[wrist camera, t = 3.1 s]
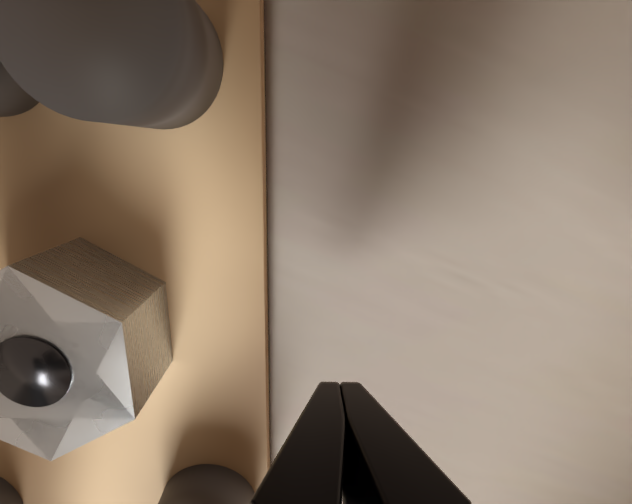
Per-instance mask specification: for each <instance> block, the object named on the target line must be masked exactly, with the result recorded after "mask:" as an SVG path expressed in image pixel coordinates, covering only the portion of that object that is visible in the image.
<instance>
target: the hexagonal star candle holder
mask: <svg viewBox="0 0 632 504" xmlns="http://www.w3.org/2000/svg"><path fill="white" fill-rule="evenodd" d="M172 361H173V354H172V344H171V333H170V323H169V312H168V302H167V291H166V282H165V281H163V280H161V279H159V278H157V277H155V276H153V275H151V274H149V273H148V272H146V271H144V270H142V269H140V268H138V267H136V266H134V265H132V264H131V263H129V262H127V261H125V260H123V259H121V258H119V257H117V256H115V255H114V254H112V253H110V252H108V251H106V250H104V249H102V248H100V247H98V246H97V245H95V244H93V243H91V242H89V241H87V240H85V239H83V238H81V237H79V238H77V239H74V240H72V241H69V242H67V243H64V244H62V245H59V246H57V247H54V248H51V249H49V250H46V251H44V252H41V253H39V254H36V255H34V256H31V257H29V258H26V259H23V260H21V261H18V262H16V263H13V264H11V265H8V266H6V267H5V268H3V269H1V270H0V440H2V441H4V442H7V443H9V444H11V445H14V446H16V447H18V448H21V449H23V450H25V451H28V452H30V453H33V454H35V455H37V456H40V457H42V458H44V459H47V460H49V461H52V460H54V459H56V458H58V457H60V456H62V455H64V454H66V453H68V452H71V451H73V450H75V449H77V448H79V447H81V446H83V445H85V444H87V443H89V442H91V441H93V440H95V439H97V438H99V437H101V436H103V435H105V434H107V433H109V432H111V431H113V430H115V429H117V428H119V427H121V426H123V425H125V424H127V423H129V422H131V421H133V420H135V419H136V417H137V415H138V414H139V412H140V411H141V409H142V408H143V406H144V405H145V403H146V402H147V400H148V398H149V397H150V395H151V394H152V392H153V391H154V389H155V388H156V386H157V385H158V383H159V381H160V380H161V378H162V377H163V375H164V374H165V372H166V371H167V369H168V368H169V366H170V364H171V363H172Z"/></svg>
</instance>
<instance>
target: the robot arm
mask: <svg viewBox="0 0 632 504" xmlns="http://www.w3.org/2000/svg"><path fill="white" fill-rule="evenodd" d="M342 501H343V504H471V501H470V500H469V499H468V498H467V497H466V496H465V495H464V494H463V493H462V492H461V491H460V490H459V488H458V487H457V486H456V485H455V484H454V483H453V482H452V481H451V480H450V479H449V478H448V477H447V476H446V475H445V474H444V472H443V471H442V470H441V469H440V468H439V467H438V466H437V465H436V464H435V463H434V462H433V461H432V460H431V459H430V457H429V456H428V455H427V454H426V453H425V452H424V451H423V450H422V449H421V448H420V447H419V446H418V445H417V444H416V442H415V441H414V440H413V439H412V438H411V437H410V436H409V435H408V434H407V433H406V432H405V431H404V430H403V429H402V427H401V426H400V425H399V424H398V423H397V422H396V421H395V420H394V419H393V418H392V417H391V416H390V415H389V414H388V412H387V411H386V410H385V409H384V408H383V407H382V406H381V405H380V404H379V403H378V402H377V401H376V400H375V399H374V397H373V396H372V395H371V394H370V393H369V392H368V391H367V390H366V389H365V388H364V387H363V386H362V385H361V384H360V383H358V382H342V383H341V384H339V383H338V382H320V383H319V385H318V386H317V388H316V390H315V392H314V393H313V395H312V397H311V398H310V400H309V402H308V403H307V405H306V407H305V409H304V410H303V412H302V414H301V415H300V417H299V419H298V420H297V422H296V424H295V426H294V427H293V429H292V431H291V432H290V434H289V436H288V437H287V439H286V441H285V443H284V444H283V446H282V448H281V449H280V451H279V453H278V454H277V456H276V458H275V460H274V461H273V463H272V465H271V466H270V468H269V470H268V471H267V473H266V475H265V477H264V478H263V480H262V482H261V483H260V485H259V487H258V488H257V490H256V492H255V494H254V495H253V497H252V499H251V501H250V504H342Z"/></svg>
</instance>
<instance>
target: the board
mask: <svg viewBox="0 0 632 504" xmlns="http://www.w3.org/2000/svg"><path fill="white" fill-rule="evenodd" d="M79 237H81V238H83V239H85V240H87V241H89V242H91V243H93V244H95V245H97V246H98V247H100V248H102V249H104V250H106V251H108V252H110V253H112V254H114V255H115V256H117V257H119V258H121V259H123V260H125V261H127V262H129V263H131V264H132V265H134V266H136V267H138V268H140V269H142V270H144V271H146V272H148V273H149V274H151V275H153V276H155V277H157V278H159V279H161V280H163V281H165V282H166V291H167V302H168V312H169V323H170V333H171V344H172V354H173V361H172V363H171V364H170V366H169V368H168V369H167V371H166V372H165V374H164V375H163V377H162V378H161V380H160V381H159V383H158V385H157V386H156V388H155V389H154V391H153V392H152V394H151V395H150V397H149V398H148V400H147V402H146V403H145V405H144V406H143V408H142V409H141V411H140V412H139V414H138V415H137V417H136V419H135V420H133V421H131V422H129V423H127V424H125V425H123V426H121V427H119V428H117V429H115V430H113V431H111V432H109V433H107V434H105V435H103V436H101V437H99V438H97V439H95V440H93V441H91V442H89V443H87V444H85V445H83V446H81V447H79V448H77V449H75V450H73V451H71V452H68V453H66V454H64V455H62V456H60V457H58V458H56V459H54V460H52V461H49V460H47V459H44V458H42V457H40V456H37V455H35V454H33V453H30V452H28V451H25V450H23V449H21V448H18V447H16V446H14V445H11V444H9V443H7V442H4V441H2V440H0V504H250V501H251V499H252V497H253V495H254V494H255V492H256V490H257V488H258V487H259V485H260V483H261V482H262V480H263V478H264V477H265V475H266V473H267V471H268V470H269V468H270V431H269V357H268V282H267V208H266V134H265V59H264V0H0V270H1V269H3V268H5V267H6V266H8V265H11V264H13V263H16V262H18V261H21V260H23V259H26V258H29V257H31V256H34V255H36V254H39V253H41V252H44V251H46V250H49V249H51V248H54V247H57V246H59V245H62V244H64V243H67V242H69V241H72V240H74V239H77V238H79Z"/></svg>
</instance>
